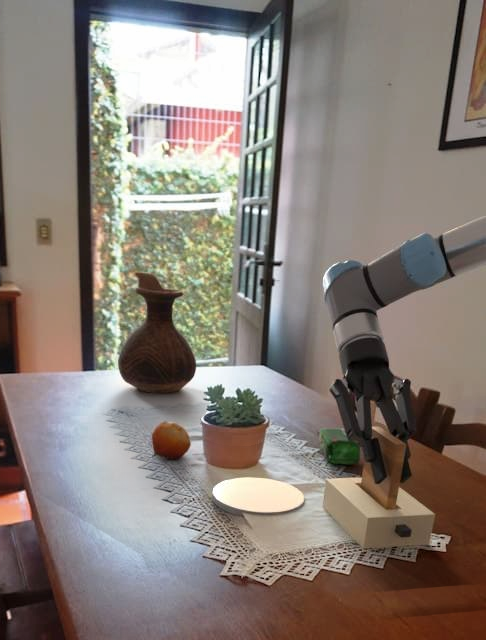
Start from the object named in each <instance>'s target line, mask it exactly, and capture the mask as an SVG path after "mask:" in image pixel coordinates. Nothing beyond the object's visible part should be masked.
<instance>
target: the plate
mask: <svg viewBox="0 0 486 640" xmlns="http://www.w3.org/2000/svg"><path fill="white" fill-rule="evenodd" d="M211 498H212V499H211V500H212V501H213V503H214V504H215V505H216V507H218V508H219V509H221V510H223V511H225V512H227V513H230V514H233V515H235V516H239V517H244V518H245V515H244V513H251V514H261V515H262V514H263V515H273V514H283V513H288V512H292V511H295V510H297V509H300V508H301V506H303V504H304V502H305V495H304V493H303V492H302V491H301V490H300V489H298V488H297V487H295V486H293V485H292V484H289V483H286V482H284V481H281V480H275V479H271V478H264V477H237V478H236V477H235V478H230V479H226V480H222V481H221V482H219V483H217V484H216V485H215V486H214V487H213V489H212V496H211Z"/></svg>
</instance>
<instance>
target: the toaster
mask: <svg viewBox="0 0 486 640" xmlns="http://www.w3.org/2000/svg"><path fill="white" fill-rule="evenodd" d="M361 481H362V476H361V477H360V476H359V477H337V478H335V477H334V478H325V483H324V492H323V498H322V499H323V500H322V508H323V509H324V510H325V511H326V512H327V513H328V514H329V515H330V516H331V518H332V519H334V520H335V521H336V522H337V523H338V525H340V526H341V527H342V528H343V529H344V530H345V531H346V533H347V534H348V535H350V536H351V538H353V540H354V541H355V542H357V544H358V545H359V546H360V547H361V548H362V549H364V550H365V549H379V548H380V549H382V548H392V547H393V548H395V547H397V548H398V547H412V546H427V545H430V542H431V538H432V533H433V527H434V522H435V518H436V514H435V513H434V512H433V511H432V510H431V509H429V508H427V506H425V505H424V504H422V503H421V502H419V501H418V500H417V499H416V498H415V497H413V496H412V495H411V494H409V493H408V492H407V491H405V490H404V489H403V488H401V487H400V486H399V490H398V496H397V502H396V508H395V509H394V510H386V509H385V508H383V507H382V506H381V505H380V504H379V503H378V502H376V501H375V500H374V499H373V498H372V497H371V496H369V495H368V494H367V493H366V492H365V491H364V490H362V489H361Z"/></svg>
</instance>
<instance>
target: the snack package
mask: <svg viewBox="0 0 486 640" xmlns="http://www.w3.org/2000/svg"><path fill="white" fill-rule="evenodd" d="M317 435H318V441H319V442H318V443H319V446H320V449H321V451H322V453H323V456H324V458H325V459H326V460H327V462H329V463H330V464H333V465H346V466H347V465H349V466H351V465H355V464H356V463H358V462H359V461H360V459H361V458H360V457H361V447H359V446H358V445H357V441H349V440H348V439H347V436H346V432H345V429H344V428H340V427H323V428H321V429H320V430H319V431H317Z"/></svg>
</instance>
